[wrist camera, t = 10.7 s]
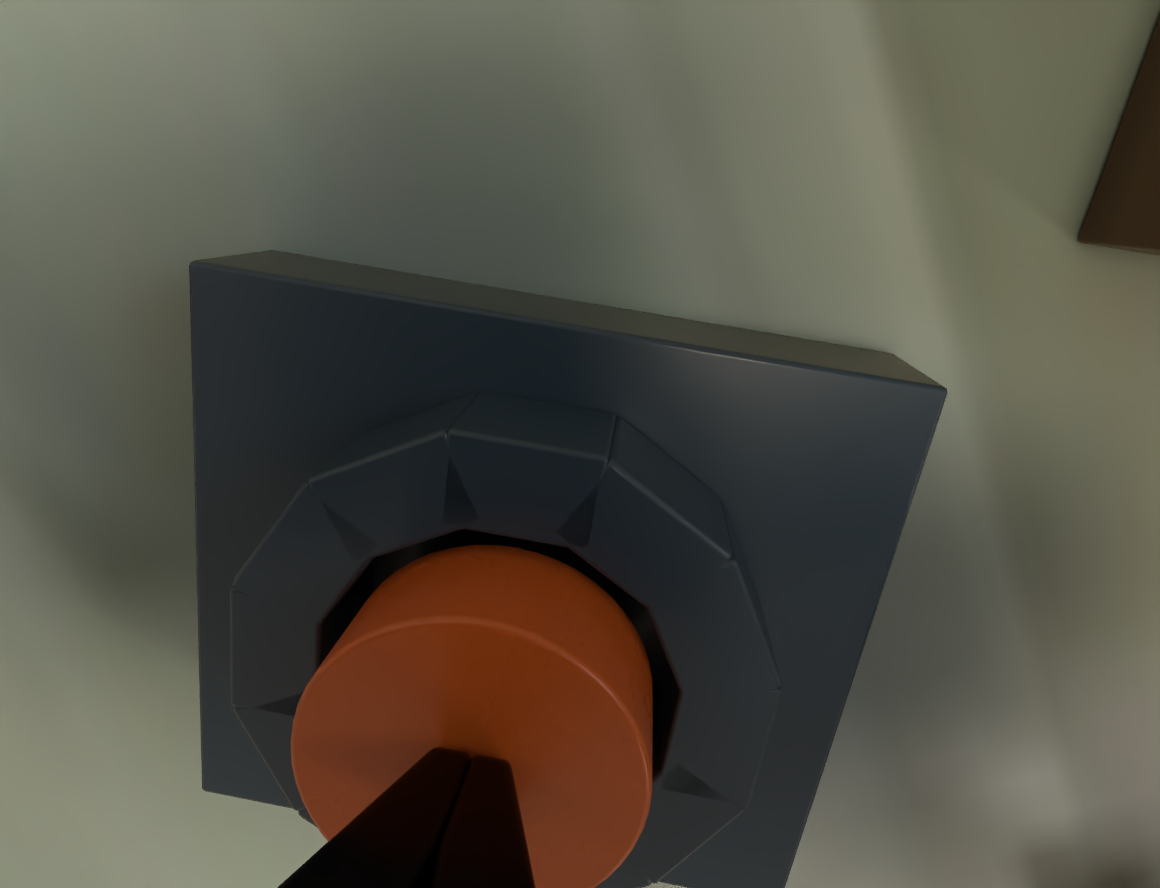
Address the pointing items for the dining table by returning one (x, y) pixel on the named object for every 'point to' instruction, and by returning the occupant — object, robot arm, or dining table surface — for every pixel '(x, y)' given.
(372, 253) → the dining table surface
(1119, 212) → the dial panel
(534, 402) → the button housing
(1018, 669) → the dining table surface
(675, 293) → the dining table surface
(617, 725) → the button
